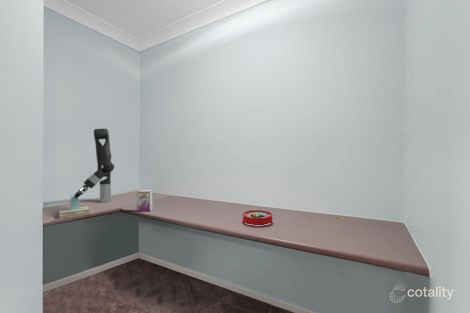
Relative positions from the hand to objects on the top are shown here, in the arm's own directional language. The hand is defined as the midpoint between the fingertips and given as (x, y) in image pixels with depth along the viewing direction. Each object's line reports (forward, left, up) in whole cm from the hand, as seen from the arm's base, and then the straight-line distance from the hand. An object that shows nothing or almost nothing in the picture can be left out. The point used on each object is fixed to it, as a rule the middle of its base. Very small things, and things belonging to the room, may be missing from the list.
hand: (75, 197), depth 178 cm
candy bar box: (+20, +46, -14) cm, 52 cm away
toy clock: (+97, +101, -14) cm, 141 cm away
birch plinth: (0, -1, -13) cm, 13 cm away
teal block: (0, 0, -9) cm, 9 cm away
